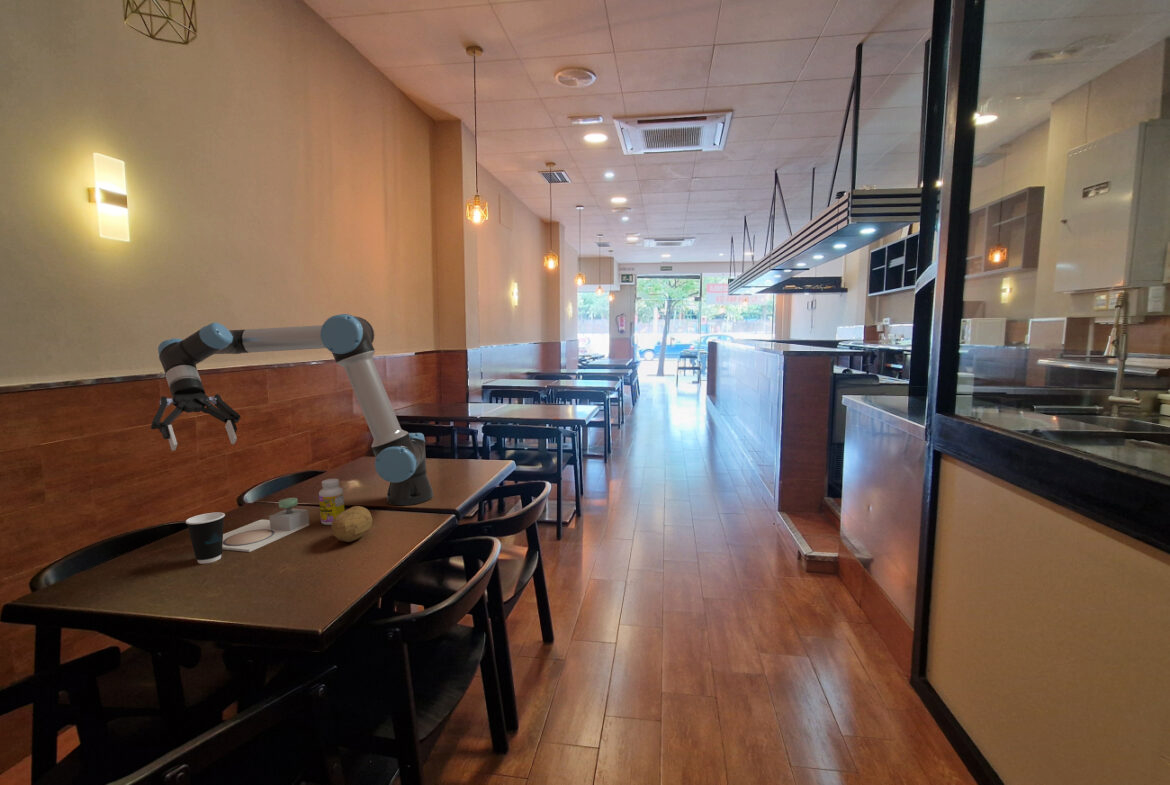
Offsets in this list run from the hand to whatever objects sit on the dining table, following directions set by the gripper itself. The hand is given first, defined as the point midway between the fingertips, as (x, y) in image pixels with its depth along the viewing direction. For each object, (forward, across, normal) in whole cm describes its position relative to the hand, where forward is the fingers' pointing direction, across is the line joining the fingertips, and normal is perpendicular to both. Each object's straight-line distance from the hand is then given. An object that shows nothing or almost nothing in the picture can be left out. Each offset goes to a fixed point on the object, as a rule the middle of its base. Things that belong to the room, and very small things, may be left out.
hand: (205, 444), depth 138 cm
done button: (+23, -18, -11) cm, 31 cm away
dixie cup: (+30, +4, -8) cm, 31 cm away
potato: (+41, -23, +6) cm, 48 cm away
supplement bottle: (+28, -28, -8) cm, 40 cm away
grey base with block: (+23, -10, -14) cm, 29 cm away
